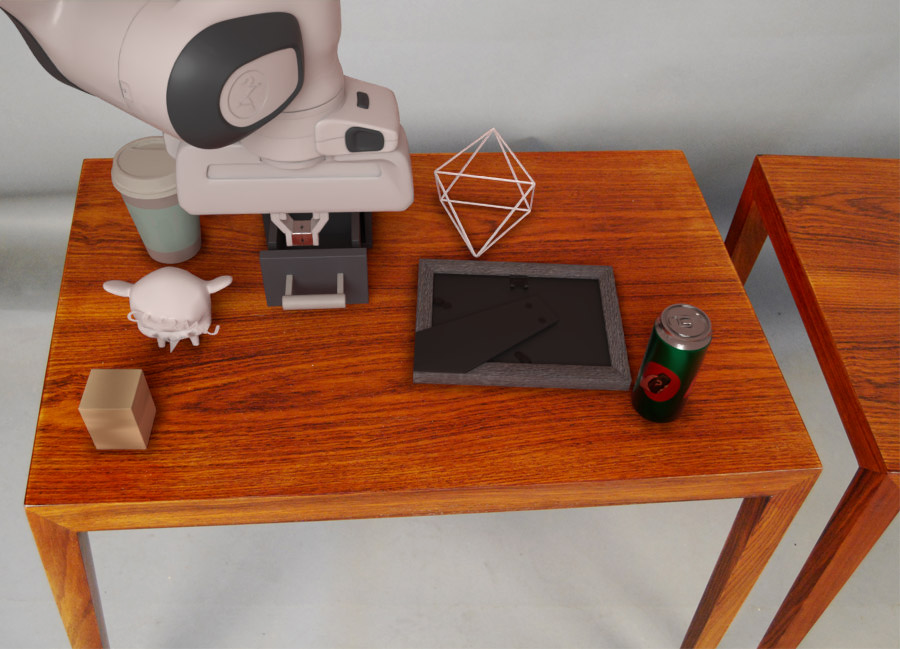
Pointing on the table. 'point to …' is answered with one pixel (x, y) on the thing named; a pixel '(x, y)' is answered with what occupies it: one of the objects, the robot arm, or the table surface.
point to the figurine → (170, 304)
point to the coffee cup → (155, 200)
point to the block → (118, 408)
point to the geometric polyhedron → (484, 178)
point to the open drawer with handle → (317, 266)
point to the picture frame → (519, 325)
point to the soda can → (671, 363)
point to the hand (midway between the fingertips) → (303, 241)
